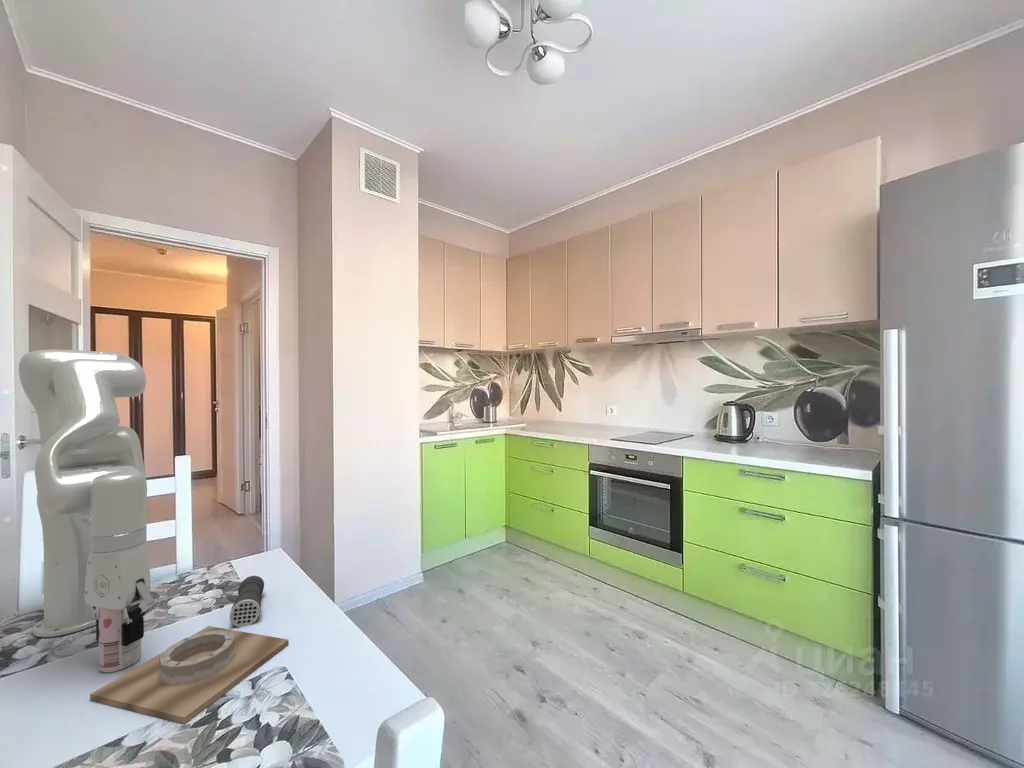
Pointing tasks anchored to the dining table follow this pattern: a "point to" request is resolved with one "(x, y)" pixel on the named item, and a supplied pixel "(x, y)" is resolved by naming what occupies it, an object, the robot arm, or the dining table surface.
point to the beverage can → (115, 641)
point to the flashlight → (247, 602)
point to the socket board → (189, 694)
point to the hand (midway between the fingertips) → (120, 638)
